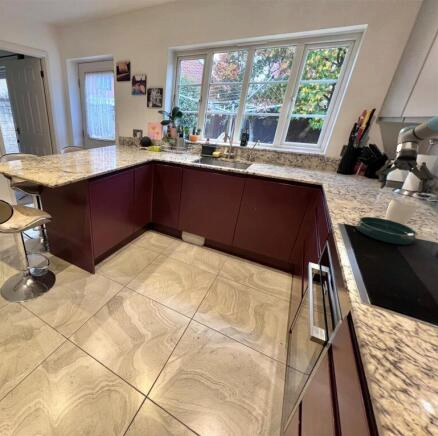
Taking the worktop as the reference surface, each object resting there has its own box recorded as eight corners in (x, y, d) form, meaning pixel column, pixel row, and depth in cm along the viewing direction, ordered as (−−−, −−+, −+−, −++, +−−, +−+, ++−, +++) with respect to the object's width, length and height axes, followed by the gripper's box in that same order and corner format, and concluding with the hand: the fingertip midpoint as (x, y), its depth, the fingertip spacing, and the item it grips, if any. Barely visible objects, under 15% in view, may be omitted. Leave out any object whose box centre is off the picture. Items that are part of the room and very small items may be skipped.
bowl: (418, 239, 98) (424, 230, 96) (401, 249, 90) (407, 239, 88) (365, 222, 112) (370, 214, 110) (347, 229, 104) (351, 220, 102)
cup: (410, 231, 105) (424, 206, 100) (385, 227, 108) (398, 203, 103) (398, 223, 113) (411, 200, 108) (376, 219, 116) (387, 197, 111)
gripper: (436, 161, 115) (432, 198, 109) (371, 155, 126) (364, 188, 121) (447, 152, 108) (444, 190, 103) (378, 146, 120) (371, 180, 115)
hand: (401, 189), depth 112 cm, fingers open, 13 cm apart
